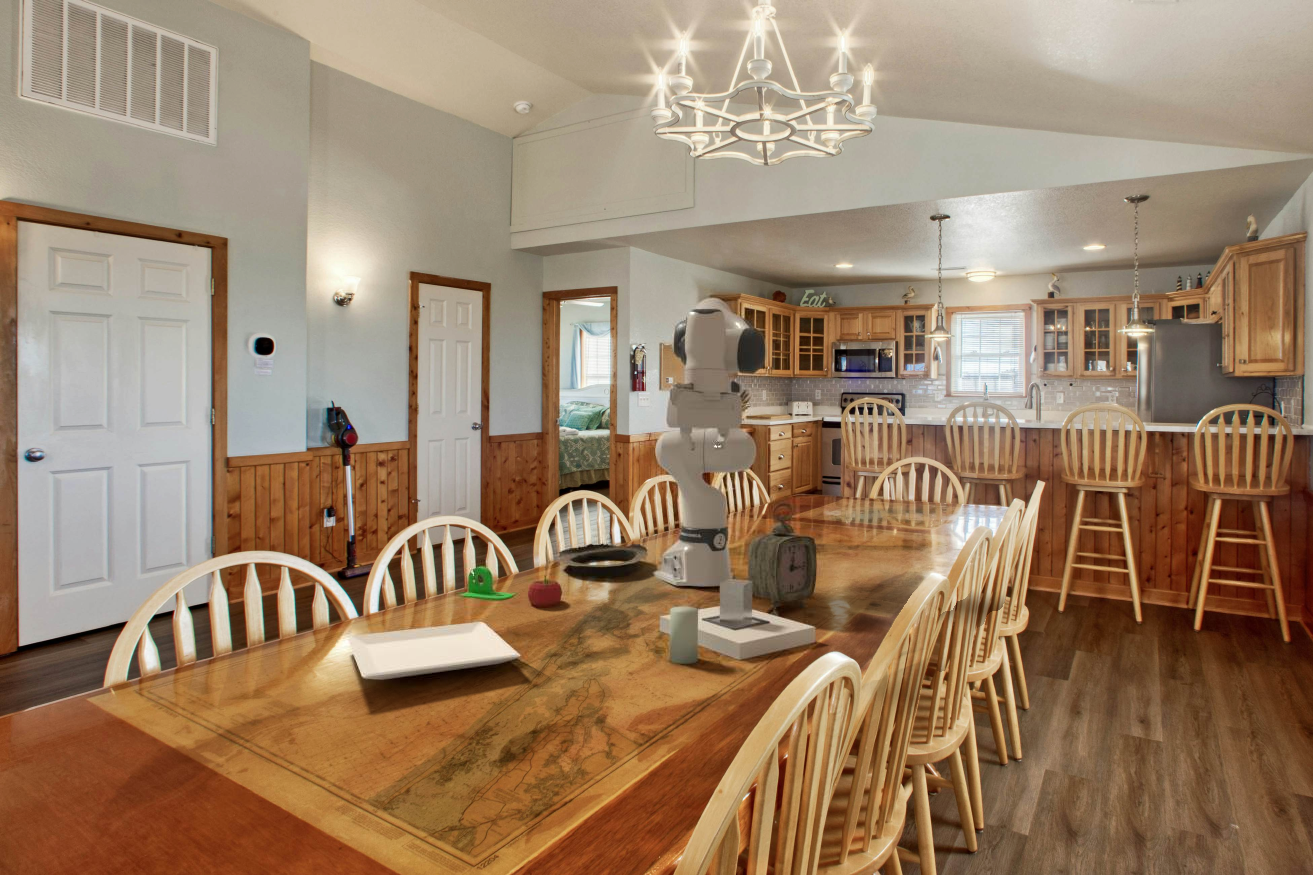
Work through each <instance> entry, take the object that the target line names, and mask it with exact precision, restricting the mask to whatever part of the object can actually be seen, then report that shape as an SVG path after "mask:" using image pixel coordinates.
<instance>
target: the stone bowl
mask: <svg viewBox="0 0 1313 875" xmlns="http://www.w3.org/2000/svg"><path fill="white" fill-rule="evenodd" d="M558 554H559V555H558V558H557V560H558V561H559V562H561V563H562V564H563V565H568V566H571V571H572V572H573V573H574V574H576V575H579V576H585V577H592V578H593V577H595V578H597V577H599V578H605V577H606V578H607V577H609V578H610V577H620V576H624V575H625V576H627V575H629V574H631V573H633V572H634V571H636V569H637V567H638V562H639V561H641V560H644V559H646V558H647V557H648V555H649V554H648V549H647V547H646V546H643V545H641V544H640V543H637V544H636V543H633V544H631V545H626V546H617V545H610V544H609V543H606V544H605V543H600V544H597V543H596V544H593V543H589V544H587V545H585V546H578V547H572V548H571V547H570V548H568V549H563V550H561V551H560V552H558ZM605 560H607V561H621V563H620V562H618V563H613V564H612V563H611V564H588V563H585V562H590V561H605ZM622 561H623V562H622Z"/></svg>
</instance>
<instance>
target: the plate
mask: <svg viewBox="0 0 1313 875" xmlns="http://www.w3.org/2000/svg"><path fill="white" fill-rule="evenodd" d="M347 641H348V644H349V646H350V649H351V652H352V654H353V657H354V659H355V661H356V664H357V667H358V670H359V673H360V675H361V678H363V679H366V680H369V679H370V680H390V679H397V678H404V677H412V676H418V675H425V674H432V673H440V672H448V671H455V670H461V669H468V668H477V667H483V666H484V667H486V666H492V665H493V666H494V665H498V664H502V663H506V662H509V661H512V660H516V659H519V658H520V657H521V655H522V654H520V653H519V652H518V651H517V650H515V648H513V647H512V646H511V645H510V644H508V643H507V642H506V641H505V640H504V639H503V638H502V637H501V636H500V635H499V634H498V633H496V631H494V630H493V629H492V628H491V627H489V626H488V624H486V623H485V622H482V621H476V622H466V623H457V624H449V625H448V624H447V625H440V626H439V625H438V626H429V627H421V628H412V629H405V630H404V629H403V630H394V631H393V630H392V631H385V632H375V633H374V632H373V633H366V634H365V633H364V634H358V635H355V634H354V635H351V636H348V637H347Z"/></svg>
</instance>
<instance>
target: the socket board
mask: <svg viewBox="0 0 1313 875" xmlns="http://www.w3.org/2000/svg"><path fill="white" fill-rule="evenodd" d="M659 631H660V632H661V633H664V634H667V635H669V636H670V614H668V615H667V614H666V615H660V616H659ZM813 643H814V644H815V643H816V626H813V625H810V624H806V623H802V622H800V621H796V620H792V619H789V618H785V617H781V616H779V615H778V616H774V615H771V613H770V614H769V613H767V612H764V611H759V610H756V609H753V608H752V624H748V625H743V626H738V627H732V626H729V625H726V624H722V623H720V605H718V606H712V607H708V608H707V607H706V608H700V609H698V646H700V647H703V648H706V649H707V650H711V651H714V652H717V653H719V654H721V655H725V656H727V657H730V658H733V659H735V660H738V661H742V660H745V659H750V658H753V657H758V656H762V655H767V654H770V653H771V654H772V653H776V652H780V651H784V650H788V649H792V648H796V647H800V646H806V645H809V644H813Z"/></svg>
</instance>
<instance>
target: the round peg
mask: <svg viewBox="0 0 1313 875" xmlns="http://www.w3.org/2000/svg"><path fill="white" fill-rule="evenodd" d="M698 610H699V608H697V607H693V606H674V607H671V608H670V610H669V615H670V635H669V661H670V662H672V663H675V664H681V665H688V664H689V665H691V664H694V663H696V662H698V660H699V659H698V658H699V657H698V655H699V652H698V651H699V645H698Z"/></svg>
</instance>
